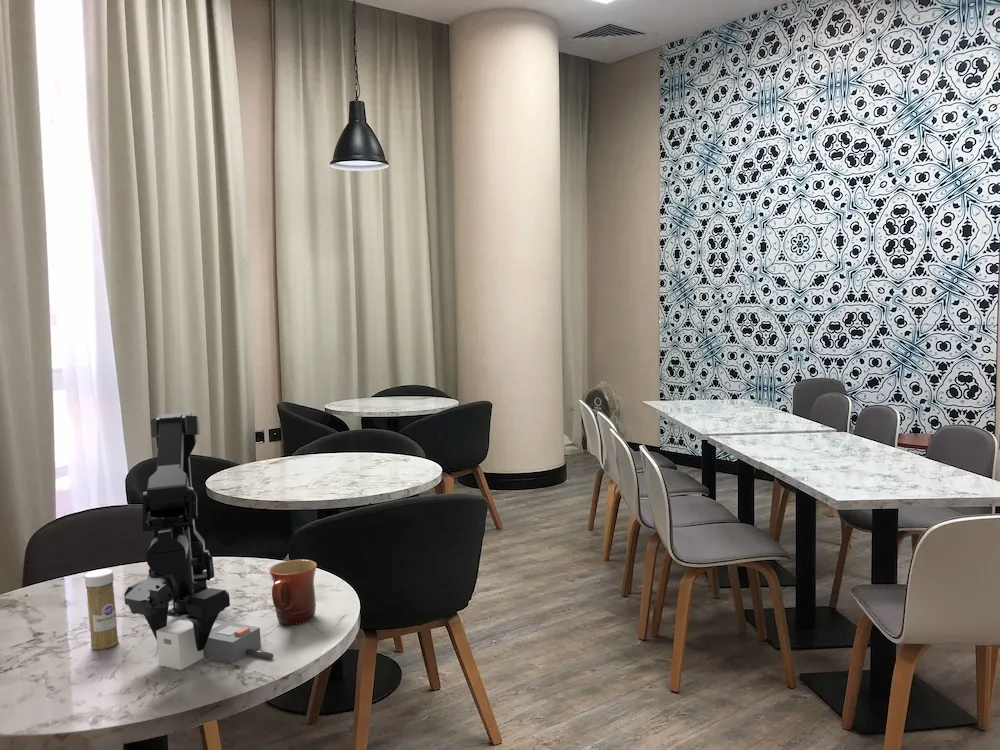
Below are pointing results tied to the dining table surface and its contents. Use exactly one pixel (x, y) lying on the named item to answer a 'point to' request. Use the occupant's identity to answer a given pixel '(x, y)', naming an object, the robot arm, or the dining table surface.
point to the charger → (177, 645)
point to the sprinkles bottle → (101, 609)
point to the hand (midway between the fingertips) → (180, 646)
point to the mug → (294, 591)
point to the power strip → (231, 641)
